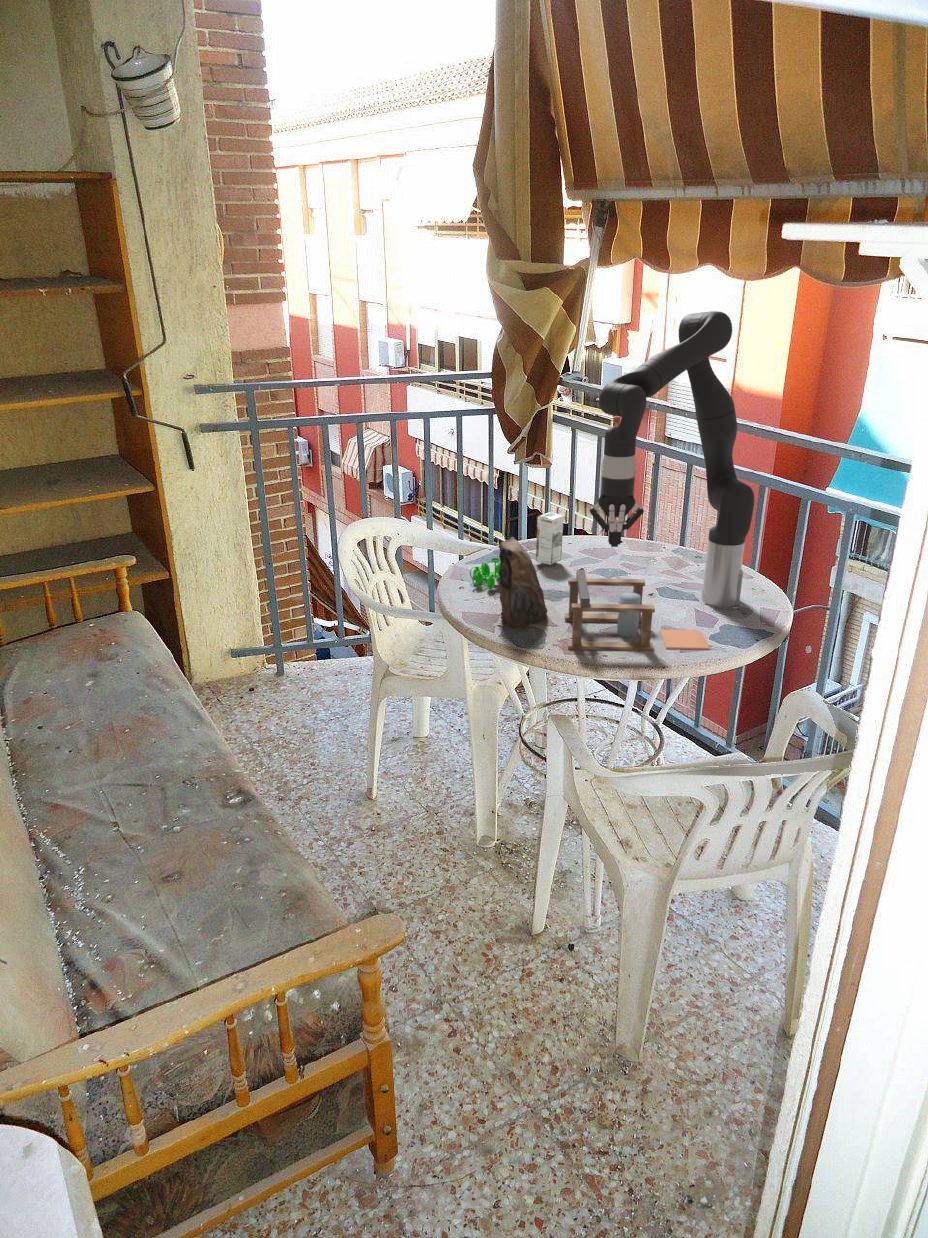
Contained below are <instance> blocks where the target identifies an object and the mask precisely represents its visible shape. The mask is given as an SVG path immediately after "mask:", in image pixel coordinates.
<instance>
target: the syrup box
mask: <svg viewBox="0 0 928 1238" xmlns="http://www.w3.org/2000/svg"><path fill="white" fill-rule="evenodd" d="M564 517H565V516H564V515H561V514H559V513H556V512H546V513H544V514H543V513H542V514H541V515H538V516H537V525H536V527H537V528H536V545H535V546H536V548H535V561H536V563H541V564H544V565H545V564H546V565H550V566H552V565H554V564H556V563H558V562H560V561H562V551H563V537H564V536H563V530H564V519H565V518H564Z"/></svg>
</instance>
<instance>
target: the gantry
mask: <svg viewBox="0 0 928 1238" xmlns="http://www.w3.org/2000/svg"><path fill="white" fill-rule="evenodd" d="M586 580H587V586H596V587H597V586H598V587H599V586H603V587H604V586H605V587H609V586H611V587H613V586H615V587H618V586H619V587H633V591H632V593H636V594H639V595H640V596H641V600H640V605H634V604H619V603H617V604H616V603H615V604H614V603H590V606H589V607H581V605H580V603H579V592H578V586H577V579H576V577H568V578H567V582H568V583H567V584H568V586H569V597H568V598H569V599H568V600H569V601H568V612H567V613H566V612H565V613H564V621H565V622H572V631H571V632H572V635H571V640H567V649H568V650H581V651H583V650H584V651H585V650H586V651H587V650H590V651H593V650H594V651H599V650H600V651H601V650H602V651H655V646H654V644H653V642H652V641H651V633H652V622H653V614H654V613H655V612H656V609H655V606H654V604H642V602H643V591H644V587H646V580H645V578H594V577H593V578H592V577H591V578H590V577H589V578H587V577H586ZM583 612H590V613H583ZM591 612H592V613H591ZM593 612H595V613H593ZM619 612H639V623H640V633H639V634H640V635H639V641H603V640H602V641H598V640H596V641H594V640H582V632H583V622H584V623H585V622H586V623H587V622H588V623H618V614H619Z"/></svg>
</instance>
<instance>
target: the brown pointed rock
mask: <svg viewBox="0 0 928 1238" xmlns="http://www.w3.org/2000/svg"><path fill="white" fill-rule="evenodd" d="M498 548H499V555H498V557H499V562H501V566H500V570H499V578H498V579H499V582H498V585H497V588H496V589H497V591H498V593H499V601H500V605H501V613H500V615H501V617H500V619H502V620H501V621H502V622H501V623H503V622H504V623H505V624H504V623H503V624H504V625H506V624H508V625H507V626H509V625H510V626H509V627H510V628H512V627H513V628H512V629H519V628H518V627H520V628H523V627H525V626H529V625H531V624H534V623H538V622H542V621H543V620H546V619H548V614H547V613H548V608H547V605H546V602H545V597H544V591H543V588H542V587H541V584H540V581H539V577H538V574H537V571H536V567H535V566H534V564H533V561H532V559H531V557H530V555H529V554H528V552H527V550H526V549H525V547H524V548H523V546H522V544H520V542H519V541H518V540H517V539H515V537H514V536H510V538H509V539H507V540H502V541H501V542H500V543H499V545H498ZM522 626H523V627H522Z"/></svg>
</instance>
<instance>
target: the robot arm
mask: <svg viewBox="0 0 928 1238" xmlns="http://www.w3.org/2000/svg"><path fill="white" fill-rule="evenodd" d="M680 320H681V321H680V323H679V326H678V342H679V343H678V344H676V345H673V346H671V347H669V348H666V349H664V350H662V351H660V352H659V353H656V354H654V355H653V356H651V357H650V358H649V359H647V360H646V361H645V362H644V363H642V364H640V366H639V367H637V368H636V369H635V370H633V371H630V372H628V373H625V374H623V375H621V376H619V377H617V378H614V379H613V380H611V381H610V382H609V381H608V383H607V384H605V385H604V387H603V388H601V389H602V390H601V391H600V393H599V396H598V405H599V408H600V410H601V411H602V412H603V413H605V414H606V415H608V416H615V417H619V418H621V419H620V422H619V424H618V425H617V426H615V425H614V426H611V427H608V428H607V429H606V430H605V432H604V442H603V443H604V444H603V457H602V461H601V462H602V463H601V476H600V477H601V478H600V479H601V480H600V481H601V482H600V485H601V486H600V496H599V497H598V499H597V502H596V503H595V504H594V505H591V506H590V505H589V508H588V510H589V513H590V514H591V516H592V517H593V518H594V520H595V521H596V522H597V524H598V525H599V526H600V528H601V529H602V530H606V531H608V534H607V535H608V536H607V537H608V538H607V541H608V544H609V545H610V546H611V548H618V546H619V545H621V543H622V532H623V531H625V530H629V529H630V528H631V527H632V526H633V525H634V524H635V523H636V521H638V520H639V518H640V517H641V516H642V515H643V513H644V508H643V507H642V506H641V505H638V504H637V503H636V500H635V496H634V495H635V480H636V479H635V478H636V471H637V469H636V466H637V465H636V464H637V463H636V448H637V437H638V434H639V433H638V432H639V429H640V427H641V423H642V420H643V418H644V414H645V411H646V408H647V398H648V399H649V398H651V397H653V396H655V395H656V394H657V393H659V392H660V391H661V390H662V389H663V388H665V386H667V385H668V384H669V383H671V382H672V381H673V380H675V378H677V377H678V376H679V375H681V374H683V373H685V372H687V375H688V379H689V383H690V388H691V393H692V399H693V404H694V410H695V418H696V423H697V427H698V433H699V437H700V442H701V450H702V453H703V458H704V464H705V474H706V475H705V476H706V490H707V493H706V494H707V499H708V502H709V505H710V506H711V507H712V509H714V510H715V511H717V512H718V519H717V522H716V523H717V524H716V525H715V526H712V527H711V528H710V529H709V532H708V538H707V548H706V549H707V550H706V558H705V565H704V566H705V567H704V573H703V574H704V576H703V584H702V592H701V601H702V602H703V603H704V604H706V605H709V606H712V607H717V608H727V607H733V606H739V605H740V599H741V594H742V585H743V578H744V571H743V570H742V568H743V567H742V566H743V560H744V559H743V558H744V550H745V544H746V537H747V536H748V534H749V532H750V528H751V524H752V519H753V515H754V513H753V512H754V509H755V493H754V490H753V489H752V487H751V486H750V485H748V484H747V483H745V482H743V481H741V480H739V479H738V478H737V474H736V469H735V465H734V458H733V452H734V451H733V450H734V447H735V443H736V438H737V434H738V421H737V414H736V408H735V402H734V400H733V398H732V396H731V394H730V393H729V391H728V390H727V389H726V387H725V386H724V385H723V383H722V382H721V380H720V379H719V378H718V377H717V375H716V373H715V372H714V370H713V367H712V365H711V363H710V357H711V356H713V355H714V354H717V353H719V352H721V351H723V350H724V349H725V348H726V347H727V346H728V344H729V343H730V341H731V338H732V335H733V324H732V321H731V319H730V317H729V315H728V314H726V313H725V312H722V311H715V310H714V311H713V310H712V311H703V312H694V313H689V314H686V315H685V316H683V317H682V319H680ZM600 509H601V510H602V511H603V513H604V514H605V516H606V517H607V520H608V522H606V521H605V520H604V518H603V517H602V516H601V514H600V513H601V510H600ZM629 512H632V513H631V514H630V515H629V517H627V518H626V520H625V517H626V516H627V515H628V514H629ZM615 518H616V519H615ZM615 520H616V522H615ZM624 520H625V521H624Z"/></svg>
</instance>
